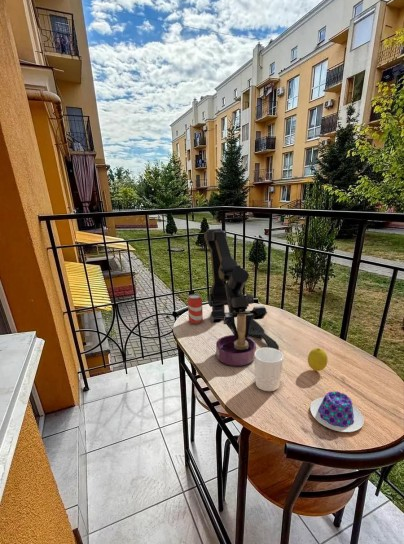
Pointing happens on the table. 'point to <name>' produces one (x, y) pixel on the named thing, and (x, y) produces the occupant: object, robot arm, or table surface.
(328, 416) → the blue patterned hat
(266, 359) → the white cup
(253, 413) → the table surface
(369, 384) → the table surface
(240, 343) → the dish brush
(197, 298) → the beverage can
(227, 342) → the bowl
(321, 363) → the lemon
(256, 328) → the hairbrush
